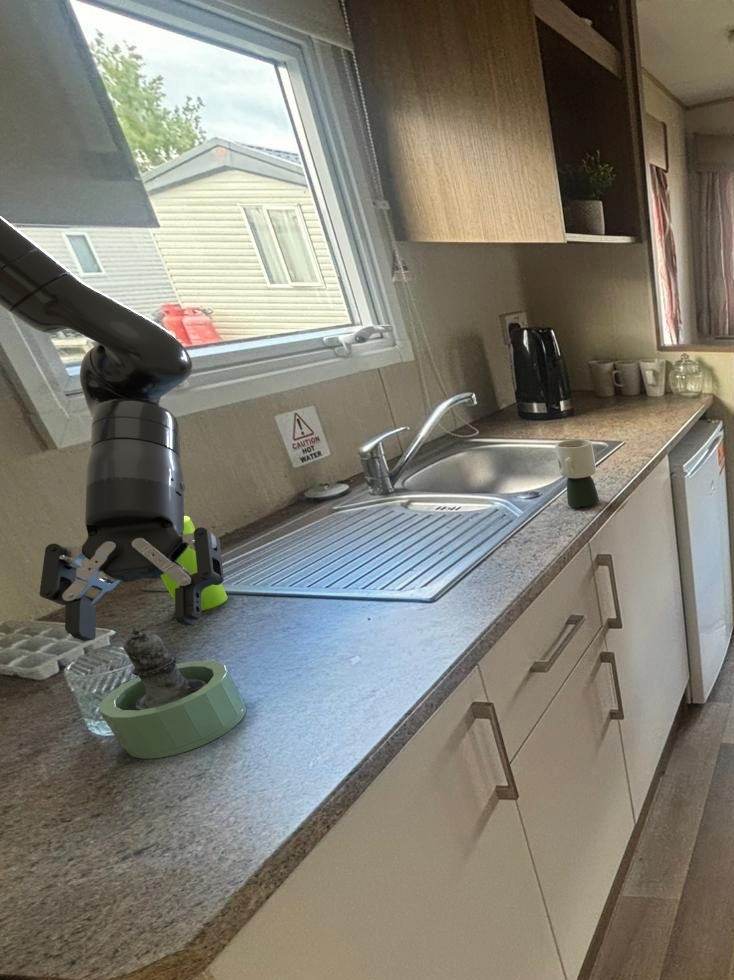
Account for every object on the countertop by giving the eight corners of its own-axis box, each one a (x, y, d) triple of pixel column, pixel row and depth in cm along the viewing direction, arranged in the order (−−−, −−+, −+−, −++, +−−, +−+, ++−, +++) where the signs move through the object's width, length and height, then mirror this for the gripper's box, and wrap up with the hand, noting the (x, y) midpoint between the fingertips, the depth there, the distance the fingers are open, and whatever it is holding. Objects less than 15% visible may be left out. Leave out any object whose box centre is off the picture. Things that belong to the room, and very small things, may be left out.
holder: (105, 769, 67) (77, 727, 65) (152, 711, 76) (129, 671, 73) (227, 744, 71) (204, 703, 68) (259, 691, 79) (240, 653, 77)
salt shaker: (137, 733, 71) (78, 639, 66) (192, 701, 76) (143, 611, 71) (178, 741, 70) (123, 646, 64) (232, 708, 75) (185, 617, 69)
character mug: (575, 496, 142) (564, 436, 136) (608, 496, 142) (598, 436, 136) (558, 514, 132) (546, 450, 126) (593, 514, 132) (583, 450, 126)
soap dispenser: (242, 597, 101) (184, 471, 92) (188, 616, 96) (120, 484, 87) (225, 588, 104) (166, 465, 95) (171, 607, 99) (103, 478, 89)
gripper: (23, 482, 66) (14, 634, 62) (195, 467, 71) (197, 608, 67) (80, 515, 73) (75, 653, 69) (233, 499, 78) (237, 628, 73)
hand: (135, 631), depth 68 cm, fingers open, 8 cm apart
